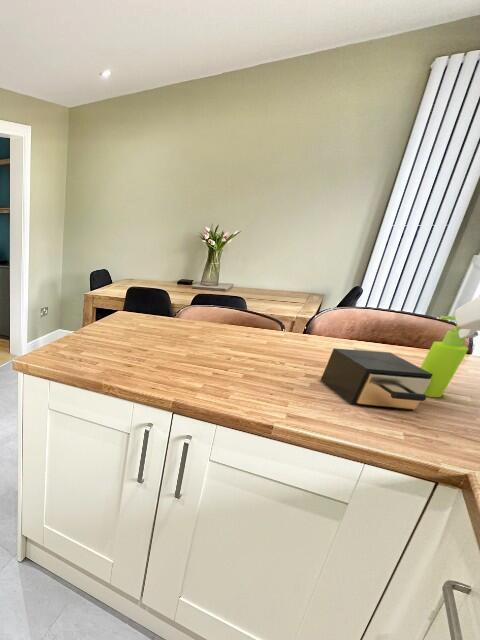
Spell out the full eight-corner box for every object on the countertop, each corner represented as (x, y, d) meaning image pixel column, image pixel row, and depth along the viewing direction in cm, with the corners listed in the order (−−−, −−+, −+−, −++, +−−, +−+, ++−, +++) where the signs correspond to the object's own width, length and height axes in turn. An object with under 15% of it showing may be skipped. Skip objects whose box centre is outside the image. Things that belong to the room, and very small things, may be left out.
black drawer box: (413, 410, 95) (433, 374, 91) (350, 404, 98) (367, 368, 94) (374, 385, 108) (390, 352, 104) (320, 380, 111) (333, 348, 107)
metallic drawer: (431, 419, 90) (449, 388, 86) (370, 413, 92) (385, 383, 89) (378, 385, 106) (391, 358, 102) (328, 381, 108) (339, 354, 105)
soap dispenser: (403, 384, 109) (440, 312, 100) (440, 392, 104) (483, 318, 96) (403, 391, 105) (442, 317, 96) (442, 399, 100) (486, 323, 92)
